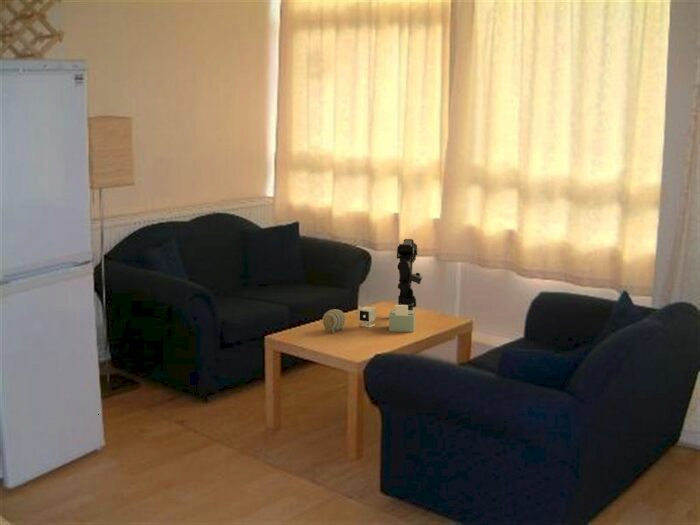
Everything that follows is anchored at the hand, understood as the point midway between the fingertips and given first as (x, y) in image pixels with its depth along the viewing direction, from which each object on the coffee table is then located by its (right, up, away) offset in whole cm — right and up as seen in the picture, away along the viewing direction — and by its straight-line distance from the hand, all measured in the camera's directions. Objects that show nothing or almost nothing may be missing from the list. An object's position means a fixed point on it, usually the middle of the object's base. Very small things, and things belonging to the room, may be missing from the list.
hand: (404, 299), depth 417 cm
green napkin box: (-2, -15, -10) cm, 18 cm away
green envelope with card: (-3, -15, -14) cm, 21 cm away
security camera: (-19, -14, -4) cm, 24 cm away
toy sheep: (-35, -16, -10) cm, 40 cm away
